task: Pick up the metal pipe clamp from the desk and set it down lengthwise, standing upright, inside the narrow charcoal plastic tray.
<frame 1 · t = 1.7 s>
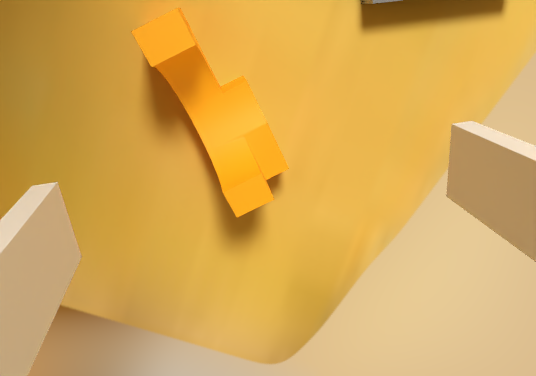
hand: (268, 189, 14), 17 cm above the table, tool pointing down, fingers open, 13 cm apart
pipe clamp: (217, 94, 30), on the table
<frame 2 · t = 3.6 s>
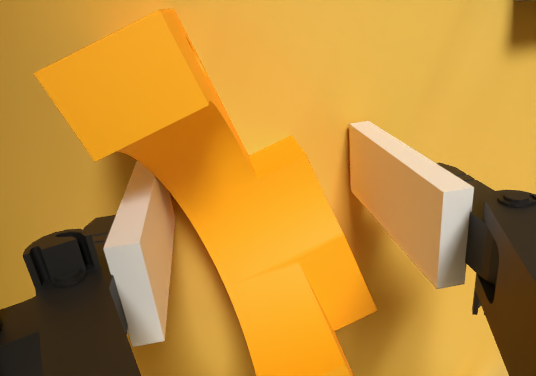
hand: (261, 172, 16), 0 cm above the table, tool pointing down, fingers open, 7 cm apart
pipe clamp: (243, 168, 16), on the table, touching gripper
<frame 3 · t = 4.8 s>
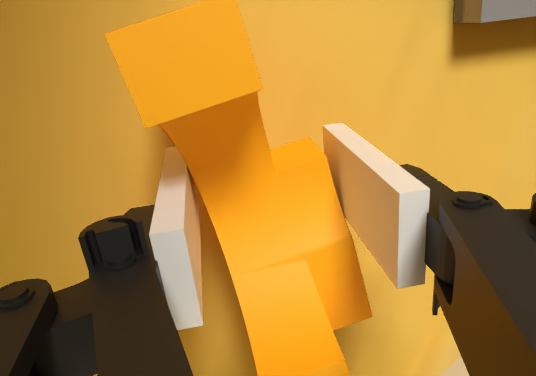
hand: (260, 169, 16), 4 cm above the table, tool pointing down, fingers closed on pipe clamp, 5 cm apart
pipe clamp: (258, 164, 17), point 3 cm above the table, touching gripper
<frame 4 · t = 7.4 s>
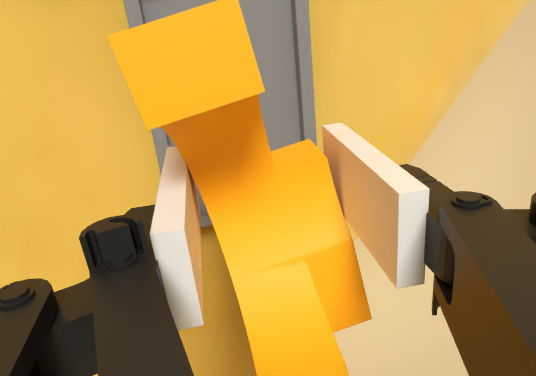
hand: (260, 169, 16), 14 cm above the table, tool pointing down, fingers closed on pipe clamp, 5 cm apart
pipe clamp: (258, 165, 17), point 13 cm above the table, touching gripper
tray: (230, 98, 29), on the table
when the fingers open (2 cm above the table, at t = 10.1 s): pipe clamp stays where it is, resting on tray.
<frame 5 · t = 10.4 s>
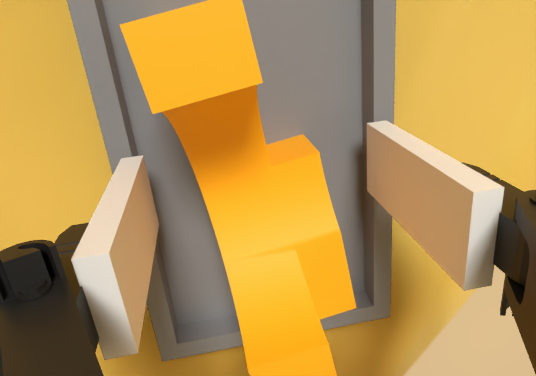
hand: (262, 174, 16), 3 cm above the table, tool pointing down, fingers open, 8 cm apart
pipe clamp: (253, 158, 17), point 1 cm above the table, touching tray
tray: (253, 152, 18), on the table
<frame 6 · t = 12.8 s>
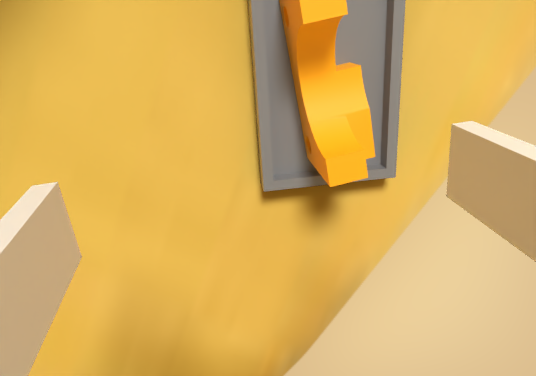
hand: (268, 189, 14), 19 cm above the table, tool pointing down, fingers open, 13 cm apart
pipe clamp: (321, 74, 32), point 1 cm above the table, touching tray
tray: (323, 72, 32), on the table
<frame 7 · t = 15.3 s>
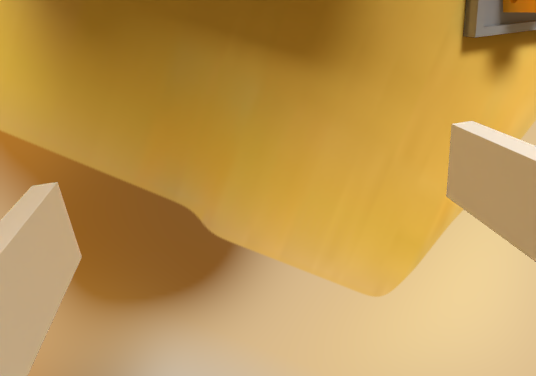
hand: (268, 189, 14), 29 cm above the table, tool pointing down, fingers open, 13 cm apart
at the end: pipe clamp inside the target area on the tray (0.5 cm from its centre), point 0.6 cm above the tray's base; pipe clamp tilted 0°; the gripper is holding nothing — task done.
